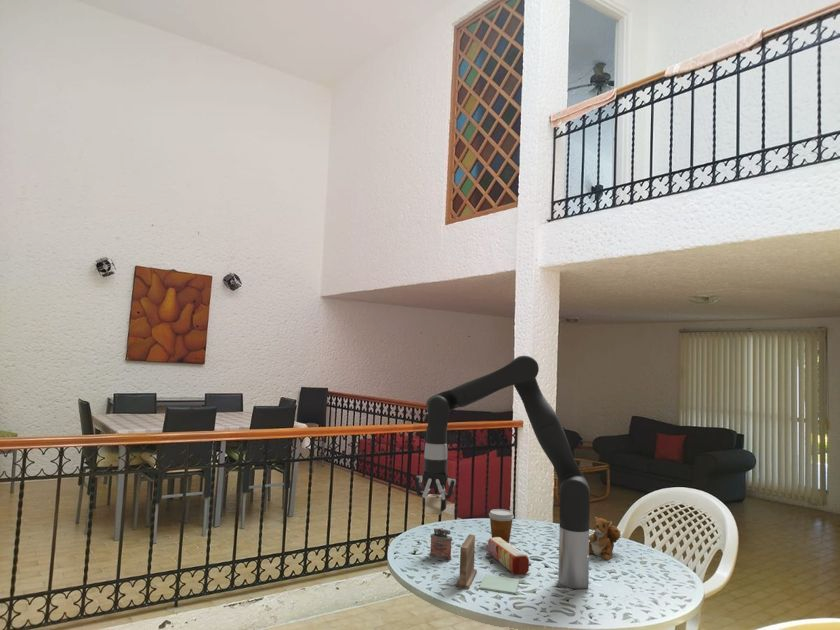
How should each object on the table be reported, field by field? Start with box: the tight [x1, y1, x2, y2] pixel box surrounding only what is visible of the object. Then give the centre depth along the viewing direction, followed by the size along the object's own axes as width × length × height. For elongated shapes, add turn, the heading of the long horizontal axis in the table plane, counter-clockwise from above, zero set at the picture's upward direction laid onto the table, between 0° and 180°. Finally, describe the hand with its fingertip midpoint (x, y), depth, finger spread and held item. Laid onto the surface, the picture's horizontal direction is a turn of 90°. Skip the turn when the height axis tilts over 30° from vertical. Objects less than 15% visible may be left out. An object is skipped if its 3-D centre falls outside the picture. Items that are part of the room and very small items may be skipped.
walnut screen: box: [455, 533, 478, 590], centre depth 178 cm, size 4×14×12 cm, turn 164°
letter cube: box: [424, 493, 444, 516], centre depth 182 cm, size 5×5×5 cm
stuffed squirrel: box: [589, 516, 622, 561], centre depth 208 cm, size 10×14×13 cm
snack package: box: [487, 537, 530, 576], centre depth 193 cm, size 21×7×7 cm, turn 16°
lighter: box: [429, 527, 453, 562], centre depth 197 cm, size 8×3×10 cm, turn 62°
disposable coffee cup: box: [488, 508, 515, 544], centre depth 214 cm, size 10×10×12 cm
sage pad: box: [479, 573, 520, 595], centre depth 175 cm, size 11×11×1 cm
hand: (434, 509), depth 182 cm, fingers closed on letter cube, 5 cm apart
